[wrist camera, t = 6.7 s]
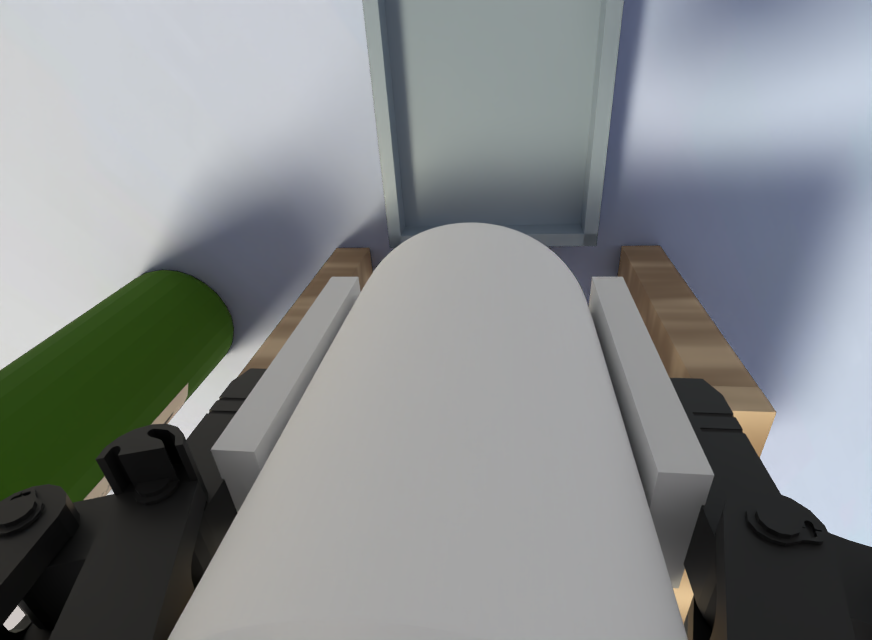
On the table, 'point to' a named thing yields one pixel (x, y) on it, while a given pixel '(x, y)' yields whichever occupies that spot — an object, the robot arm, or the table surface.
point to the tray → (493, 113)
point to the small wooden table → (661, 313)
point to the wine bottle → (107, 380)
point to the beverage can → (449, 471)
